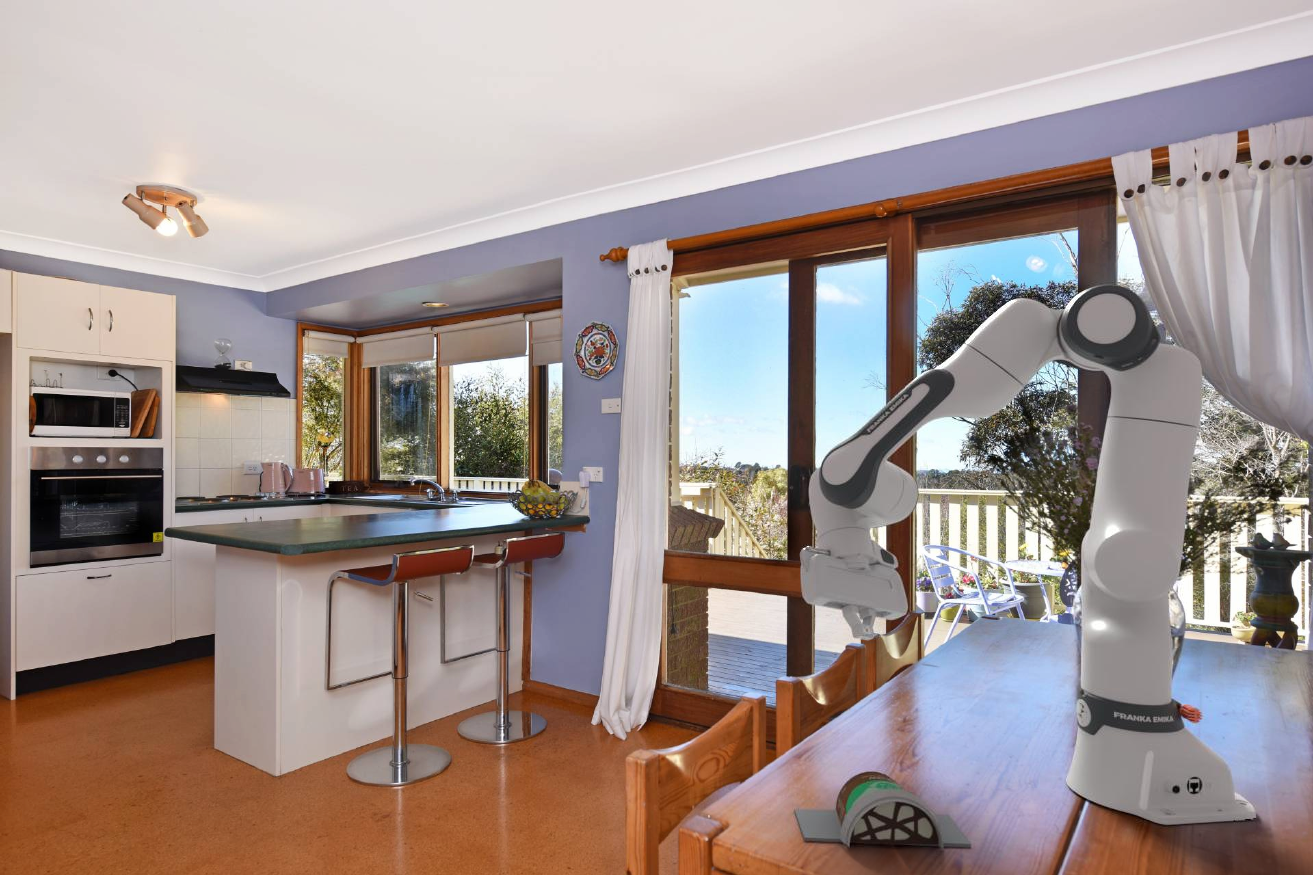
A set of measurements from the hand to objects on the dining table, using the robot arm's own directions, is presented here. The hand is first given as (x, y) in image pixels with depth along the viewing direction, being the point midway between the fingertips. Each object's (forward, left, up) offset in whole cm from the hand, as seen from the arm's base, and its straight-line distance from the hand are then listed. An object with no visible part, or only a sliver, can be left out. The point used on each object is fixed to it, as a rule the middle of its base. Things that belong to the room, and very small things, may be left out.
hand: (864, 638), depth 118 cm
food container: (+3, +17, -15) cm, 23 cm away
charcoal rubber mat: (+3, +22, -19) cm, 29 cm away
